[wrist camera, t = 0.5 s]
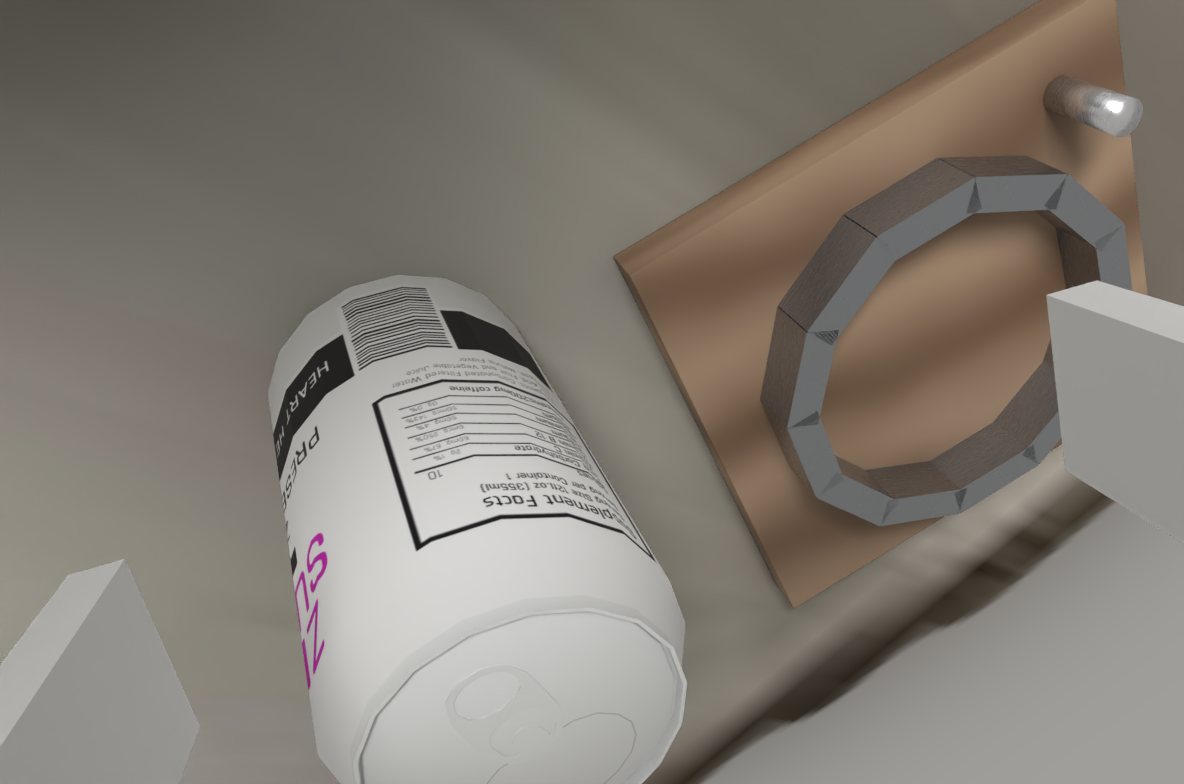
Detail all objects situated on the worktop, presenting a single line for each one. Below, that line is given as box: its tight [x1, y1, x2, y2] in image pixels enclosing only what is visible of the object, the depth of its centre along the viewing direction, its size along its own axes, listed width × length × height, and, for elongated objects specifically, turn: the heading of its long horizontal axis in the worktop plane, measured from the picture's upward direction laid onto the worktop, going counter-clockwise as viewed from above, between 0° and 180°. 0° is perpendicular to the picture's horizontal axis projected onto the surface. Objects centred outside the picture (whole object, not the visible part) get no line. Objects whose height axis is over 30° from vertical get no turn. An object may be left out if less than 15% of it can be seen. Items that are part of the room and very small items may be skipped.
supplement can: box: [268, 275, 687, 784], centre depth 27 cm, size 8×8×15 cm
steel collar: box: [760, 75, 1143, 526], centre depth 36 cm, size 14×14×3 cm
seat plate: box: [614, 0, 1148, 608], centre depth 38 cm, size 18×18×2 cm
